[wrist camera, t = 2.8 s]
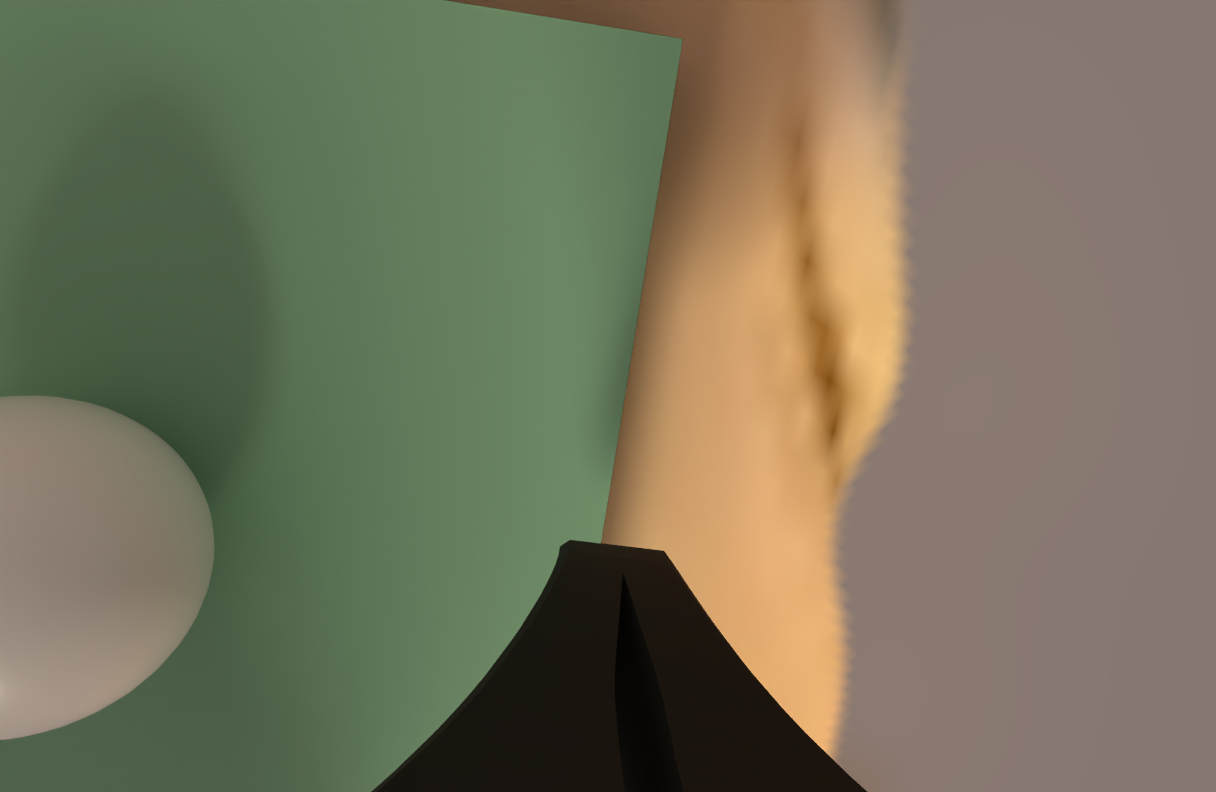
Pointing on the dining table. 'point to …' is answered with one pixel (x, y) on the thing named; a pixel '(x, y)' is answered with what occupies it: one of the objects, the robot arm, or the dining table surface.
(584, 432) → the green mini golf board
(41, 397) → the ball
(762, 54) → the dining table surface
